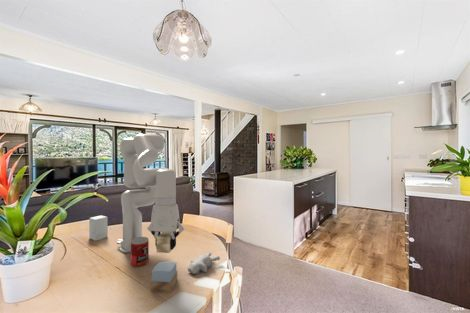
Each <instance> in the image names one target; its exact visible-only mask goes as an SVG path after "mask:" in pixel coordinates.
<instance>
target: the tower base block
mask: <svg viewBox="0 0 470 313" xmlns="http://www.w3.org/2000/svg"><path fill="white" fill-rule="evenodd" d="M177 281H178V271H177V270H176V274H175V275H174V277H173V278H172V280H171V282H156V281H152V280H151V282H150V293H173V292H174V289H175V286H176V284H177Z"/></svg>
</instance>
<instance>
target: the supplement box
mask: <svg viewBox="0 0 470 313" xmlns="http://www.w3.org/2000/svg"><path fill="white" fill-rule="evenodd" d="M108 233H109V232H108V216H105V215H102V214H101V215H97V216H91V217H89V239H91V240H93V241H95V242H96V241H100V240H103V239H106V238H108V235H109V234H108Z"/></svg>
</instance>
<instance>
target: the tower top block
mask: <svg viewBox="0 0 470 313" xmlns="http://www.w3.org/2000/svg"><path fill="white" fill-rule="evenodd" d="M176 271H177V262H170V261H169V262H168V261H166V262H165V261H159V262H158V263H157V264H156V265H155V266H154V268H153V269H152V270H151V281H156V282H171V280H172V278H173V277H174V275H175V274H176Z"/></svg>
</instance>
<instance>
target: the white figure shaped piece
mask: <svg viewBox="0 0 470 313" xmlns="http://www.w3.org/2000/svg"><path fill="white" fill-rule="evenodd" d="M211 255H212V252H210V251H209V252H207V253H206V254H200V255H199V256H198V257H197V258H196V259H192V260H190V264H189V265H188V267H187V272H189V273H191V274H193V275H199V274H200V273H201V272H207V271H208V269H209V268H211V265H212V264H213V262H215V261H219V260H221V258H220V255H215V256H213V257H211Z"/></svg>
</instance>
